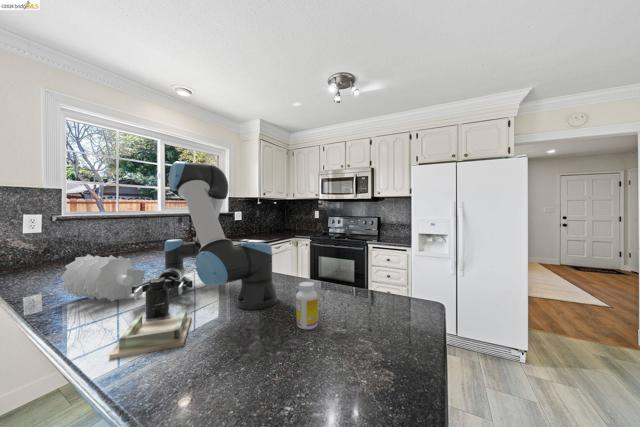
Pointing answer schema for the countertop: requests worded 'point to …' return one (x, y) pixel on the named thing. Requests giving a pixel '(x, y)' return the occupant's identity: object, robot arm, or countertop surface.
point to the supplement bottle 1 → (157, 299)
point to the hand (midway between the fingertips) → (158, 293)
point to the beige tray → (152, 336)
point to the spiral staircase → (101, 277)
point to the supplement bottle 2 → (307, 306)
